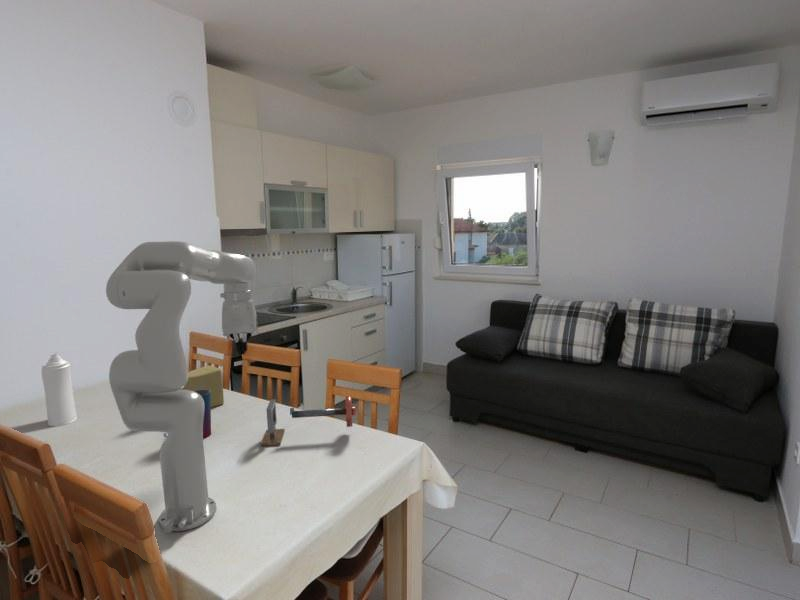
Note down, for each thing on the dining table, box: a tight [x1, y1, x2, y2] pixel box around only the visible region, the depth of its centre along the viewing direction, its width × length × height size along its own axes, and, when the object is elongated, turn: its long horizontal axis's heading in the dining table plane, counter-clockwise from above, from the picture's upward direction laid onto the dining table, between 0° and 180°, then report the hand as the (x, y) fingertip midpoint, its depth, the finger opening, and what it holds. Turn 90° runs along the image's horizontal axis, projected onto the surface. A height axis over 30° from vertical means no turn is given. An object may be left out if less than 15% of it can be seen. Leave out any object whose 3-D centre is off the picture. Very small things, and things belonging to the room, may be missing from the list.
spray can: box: [41, 351, 78, 427], centre depth 169 cm, size 12×11×25 cm
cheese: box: [180, 365, 225, 408], centre depth 176 cm, size 22×10×15 cm, turn 144°
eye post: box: [260, 398, 285, 447], centre depth 152 cm, size 10×6×12 cm, turn 6°
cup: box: [194, 389, 212, 439], centre depth 155 cm, size 7×7×15 cm
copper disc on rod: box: [289, 395, 357, 428], centre depth 153 cm, size 10×21×10 cm, turn 96°
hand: (242, 353), depth 148 cm, fingers closed
